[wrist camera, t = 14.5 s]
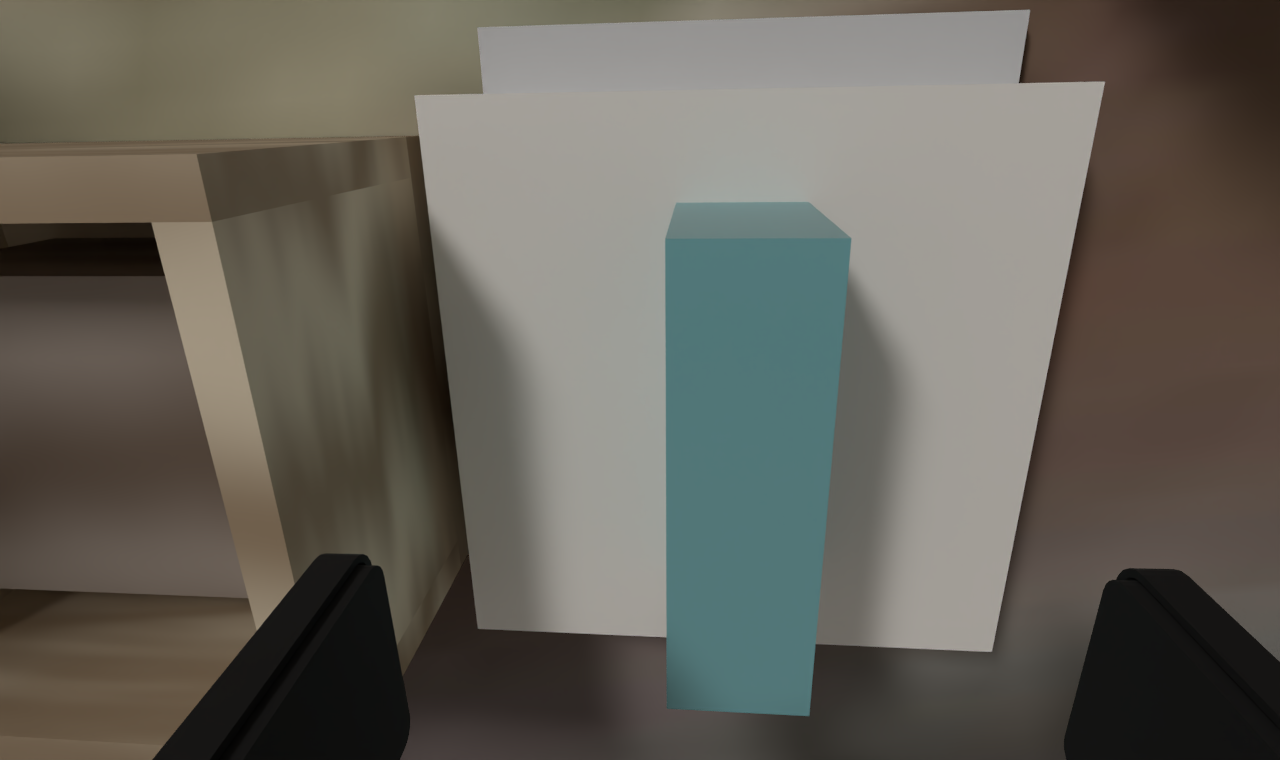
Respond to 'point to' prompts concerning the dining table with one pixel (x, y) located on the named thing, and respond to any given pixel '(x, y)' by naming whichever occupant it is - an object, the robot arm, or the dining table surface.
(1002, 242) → the lid
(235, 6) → the dining table surface
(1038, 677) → the dining table surface
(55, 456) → the crate
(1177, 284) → the dining table surface
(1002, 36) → the mat
